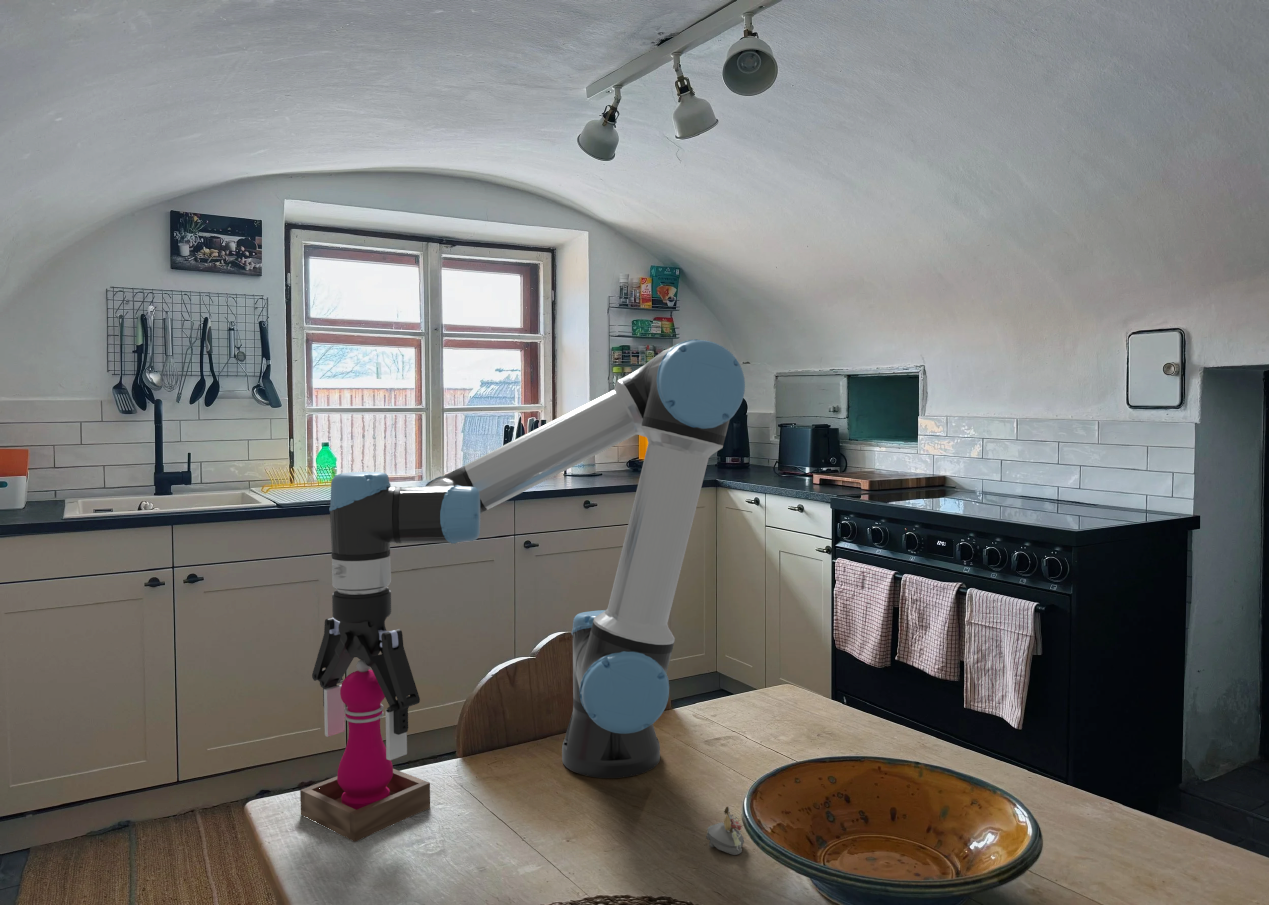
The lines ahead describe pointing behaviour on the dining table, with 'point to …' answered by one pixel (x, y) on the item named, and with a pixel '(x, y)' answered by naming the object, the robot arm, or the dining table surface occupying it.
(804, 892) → the dining table surface
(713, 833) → the figurine
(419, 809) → the holder tray
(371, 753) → the pepper mill
